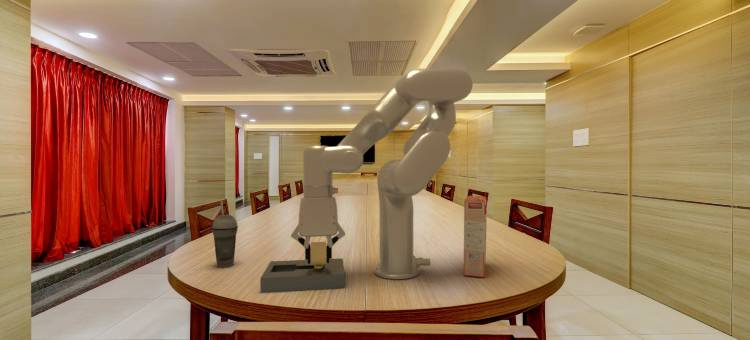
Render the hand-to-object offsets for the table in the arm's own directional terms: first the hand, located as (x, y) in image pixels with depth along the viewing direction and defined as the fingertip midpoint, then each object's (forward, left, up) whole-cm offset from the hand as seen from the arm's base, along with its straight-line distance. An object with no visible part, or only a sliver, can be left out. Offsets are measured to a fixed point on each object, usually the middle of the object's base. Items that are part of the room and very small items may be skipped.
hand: (318, 261), depth 88 cm
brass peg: (0, 0, -5) cm, 5 cm away
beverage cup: (+29, -17, -5) cm, 34 cm away
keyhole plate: (+4, 0, -5) cm, 6 cm away
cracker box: (-44, -2, -5) cm, 45 cm away
